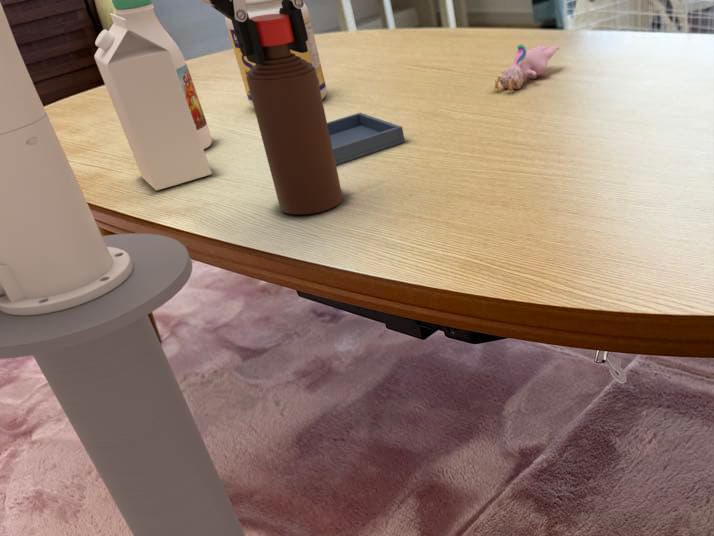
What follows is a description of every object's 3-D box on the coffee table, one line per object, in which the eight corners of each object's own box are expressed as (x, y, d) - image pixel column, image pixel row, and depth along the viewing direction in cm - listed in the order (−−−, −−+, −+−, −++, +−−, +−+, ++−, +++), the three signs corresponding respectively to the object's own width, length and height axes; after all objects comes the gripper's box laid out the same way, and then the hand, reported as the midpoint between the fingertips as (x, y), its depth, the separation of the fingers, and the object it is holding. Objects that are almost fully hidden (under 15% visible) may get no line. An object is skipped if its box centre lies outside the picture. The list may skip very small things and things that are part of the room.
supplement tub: (242, 118, 123) (204, -4, 113) (262, 95, 133) (229, -18, 123) (320, 110, 122) (289, -13, 112) (335, 88, 132) (308, -27, 122)
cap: (255, 40, 83) (249, 16, 81) (295, 36, 83) (290, 12, 82) (251, 48, 79) (244, 22, 78) (292, 43, 80) (287, 18, 78)
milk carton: (196, 163, 107) (141, 7, 96) (213, 175, 102) (156, 13, 91) (142, 178, 104) (78, 19, 93) (156, 192, 99) (91, 26, 88)
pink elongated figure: (522, 102, 120) (573, 59, 128) (514, 63, 115) (566, 20, 124) (489, 99, 123) (540, 57, 131) (479, 61, 118) (533, 19, 127)
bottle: (298, 219, 87) (252, 34, 76) (269, 204, 91) (222, 27, 81) (354, 201, 90) (317, 21, 80) (324, 187, 95) (285, 15, 84)
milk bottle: (169, 162, 108) (108, -1, 97) (148, 152, 113) (87, -5, 102) (222, 145, 112) (170, -13, 101) (200, 136, 117) (147, -17, 105)
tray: (315, 172, 100) (310, 156, 98) (277, 154, 107) (272, 139, 106) (405, 141, 106) (402, 126, 105) (363, 126, 113) (360, 112, 112)
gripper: (137, -154, 65) (213, 82, 76) (322, -174, 73) (367, 42, 84) (110, -149, 70) (185, 71, 81) (286, -169, 78) (333, 34, 89)
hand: (277, 54), depth 82 cm, fingers closed on cap, 4 cm apart
